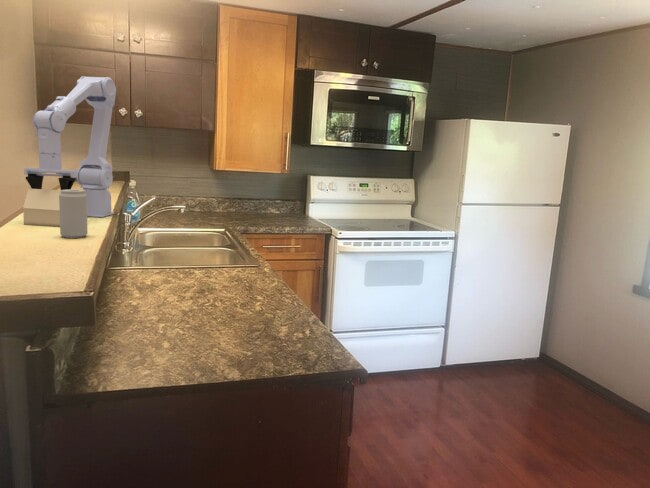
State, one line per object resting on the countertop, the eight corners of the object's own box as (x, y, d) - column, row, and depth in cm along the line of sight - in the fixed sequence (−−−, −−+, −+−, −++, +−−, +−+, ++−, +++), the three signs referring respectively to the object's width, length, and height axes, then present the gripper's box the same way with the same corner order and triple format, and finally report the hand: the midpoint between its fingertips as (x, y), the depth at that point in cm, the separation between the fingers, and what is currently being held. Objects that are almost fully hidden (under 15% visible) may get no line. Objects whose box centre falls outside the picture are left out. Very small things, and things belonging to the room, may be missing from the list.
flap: (28, 189, 155) (28, 188, 155) (65, 191, 155) (64, 190, 154) (23, 208, 153) (23, 208, 153) (60, 210, 153) (60, 210, 153)
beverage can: (92, 235, 144) (91, 189, 141) (79, 239, 137) (77, 191, 135) (69, 233, 144) (67, 188, 142) (55, 237, 138) (53, 190, 136)
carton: (35, 221, 160) (35, 206, 159) (72, 223, 160) (72, 208, 159) (23, 224, 154) (23, 208, 153) (62, 226, 154) (61, 211, 153)
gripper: (16, 152, 152) (18, 201, 154) (67, 155, 151) (69, 204, 154) (31, 152, 159) (33, 198, 161) (80, 155, 158) (81, 201, 160)
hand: (51, 201), depth 158 cm, fingers open, 7 cm apart
